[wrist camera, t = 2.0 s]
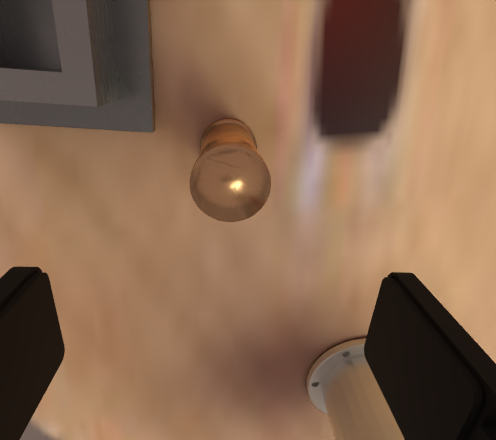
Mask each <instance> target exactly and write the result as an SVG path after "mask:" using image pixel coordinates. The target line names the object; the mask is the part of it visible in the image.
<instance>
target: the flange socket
mask: <svg viewBox="0 0 496 440" xmlns="http://www.w3.org/2000/svg"><path fill="white" fill-rule="evenodd" d="M0 123H6V124H22V125H39V126H55V127H71V128H87V129H104V130H120V131H136V132H154V131H155V109H154V84H153V60H152V36H151V12H150V0H0Z"/></svg>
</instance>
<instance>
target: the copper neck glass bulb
mask: <svg viewBox="0 0 496 440" xmlns="http://www.w3.org/2000/svg"><path fill="white" fill-rule="evenodd" d="M200 148H201V153H200V156H199V157H198V159H197V160H196V162H195V164H194V167H193V169H192V173H191V177H190V190H191V194H192V197H193V199H194V201H195V203H196V204H197V206H198V207H199V208H200V209H201V210H202V211H203V212H204V213H205V214H207V215H208V216H210V217H212V218H214V219H217V220H220V221H225V222H235V221H241V220H244V219H247V218H249V217H251V216H253V215H254V214H255V213H257V212H258V211H259V210H260V209H261V208H262V207H263V205H264V204H265V202H266V201H267V198H268V196H269V193H270V188H271V179H270V174H269V171H268V168H267V166H266V164H265V162H264V160H263V158H262V157H261V156H260V155H259V154H258V152H257V146H256V140H255V138H254V135H253V133H252V131H251V130H250V129H249V128H248V127H247V126H246V125H245V124H244V123H242V122H240V121H238V120H235V119H221V120H218V121H216V122H214V123H213V124H211V125H210V126H209V127H208V128H207V129H206V131H205V133H204V135H203V137H202V140H201V147H200Z"/></svg>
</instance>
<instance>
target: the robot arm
mask: <svg viewBox="0 0 496 440" xmlns="http://www.w3.org/2000/svg"><path fill="white" fill-rule="evenodd" d="M64 351H65V348H64V343H63V338H62V334H61V330H60V325H59V321H58V316H57V312H56V307H55V303H54V299H53V294H52V290H51V285H50V281H49V277H48V275H47V273H42V270H41V269H40V268H38V267H13V268H11V269H10V270H9V271H8V272H7V273H5V274H4V275H3V276H2V277H1V278H0V440H19V439H20V438H21V435H22V434H23V432H24V430H25V428H26V426H27V425H28V423H29V421H30V419H31V417H32V416H33V414H34V412H35V410H36V408H37V406H38V405H39V403H40V401H41V399H42V397H43V395H44V394H45V392H46V390H47V388H48V386H49V384H50V383H51V381H52V379H53V377H54V375H55V373H56V372H57V370H58V368H59V366H60V364H61V362H62V360H63V357H64ZM307 390H308V394H309V397H310V399H311V402H312V403H313V404H314V406H315V407H316V408H318V409H319V410H320V411H321V412H323V413H325V414H327V415H328V416H329V419H330V423H331V426H332V429H333V433H334V436H335V439H336V440H496V364H495V363H494V361H493V360H492V359H491V358H490V357H489V356H488V355H487V354H486V353H485V352H484V350H483V349H482V348H481V347H480V346H479V345H478V344H477V343H476V342H475V341H474V339H473V338H472V337H471V336H470V335H469V334H468V333H467V332H466V331H465V330H464V329H463V327H462V326H461V325H460V324H459V323H458V322H457V321H456V320H455V319H454V318H453V316H452V315H451V314H450V313H449V312H448V311H447V310H446V309H445V308H444V307H443V305H442V304H441V303H440V302H439V301H438V300H437V299H436V298H435V297H434V296H433V295H432V293H431V292H430V291H429V290H428V289H427V288H426V287H425V286H424V285H423V284H422V282H421V281H420V280H419V279H418V278H417V277H416V276H415V275H414V274H413V273H397V272H392V273H390V274H389V275H388V277H385V278H384V279H383V280H382V283H381V287H380V291H379V294H378V298H377V301H376V305H375V309H374V312H373V316H372V319H371V323H370V327H369V330H368V334H367V337H366V338H363V339H356V340H351V341H348V342H344V343H342V344H340V345H337V346H335V347H333V348H331V349H330V350H328V351H327V352H325V353H324V354H323V355H322V356H321V357H319V358H318V359H317V361H316V362H315V363H314V364H313V365H312V367H311V369H310V371H309V373H308V377H307Z"/></svg>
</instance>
